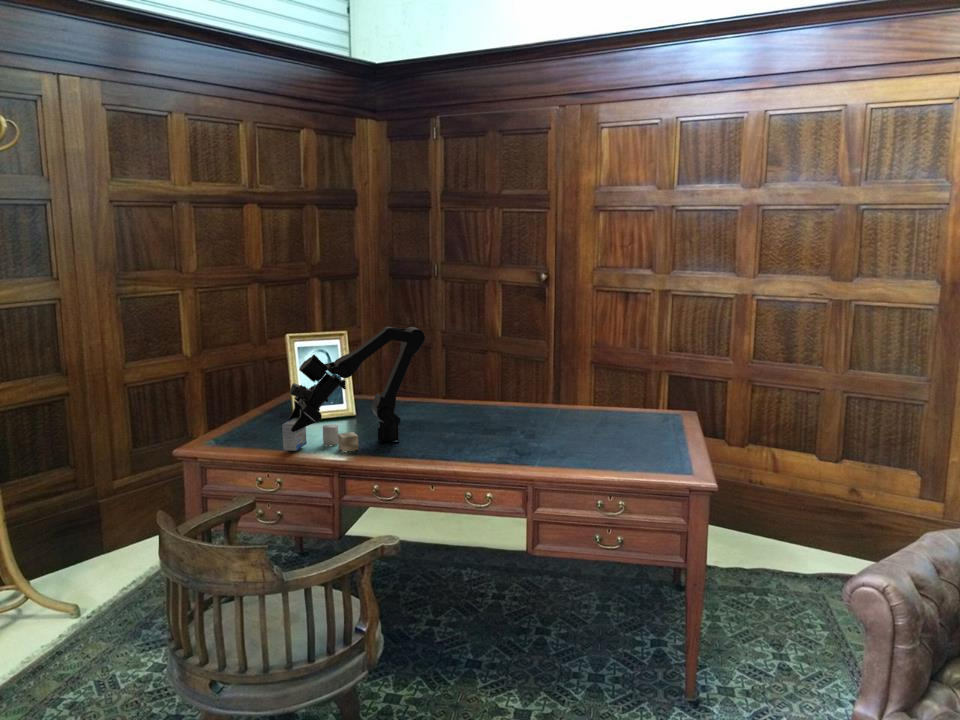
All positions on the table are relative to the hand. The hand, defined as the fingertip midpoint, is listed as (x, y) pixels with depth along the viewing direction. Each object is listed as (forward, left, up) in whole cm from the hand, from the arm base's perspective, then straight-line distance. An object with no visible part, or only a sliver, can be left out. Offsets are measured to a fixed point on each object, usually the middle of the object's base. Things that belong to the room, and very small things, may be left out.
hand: (289, 427), depth 252 cm
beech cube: (-18, +1, -8) cm, 20 cm away
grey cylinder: (-12, -6, -8) cm, 16 cm away
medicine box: (-1, 0, -7) cm, 7 cm away
